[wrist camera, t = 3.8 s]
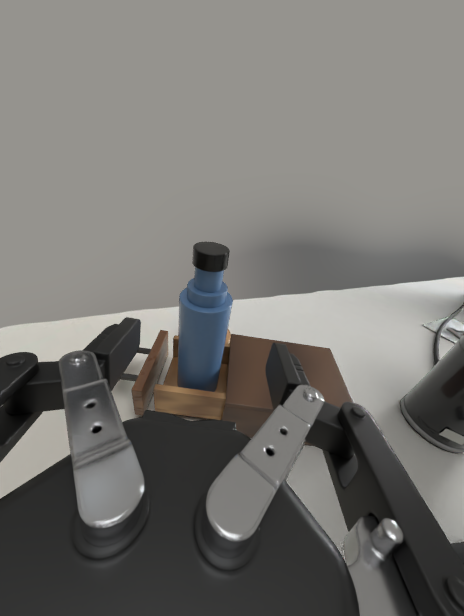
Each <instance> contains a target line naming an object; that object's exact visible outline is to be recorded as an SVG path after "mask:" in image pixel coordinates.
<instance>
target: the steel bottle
mask: <svg viewBox="0 0 464 616" xmlns="http://www.w3.org/2000/svg"><path fill="white" fill-rule="evenodd" d="M229 252H230V251H229V249H228V248H227V247H226V246H224V245H222V244H218V243H214V242H199V243H196V244H195V245H194V247H193V265H194V266H195V277H194V278H193V279H191V280H190V281H189V282H188V284H187V288H185V289H184V290H183V291H182V292H181V293H180V298H179V335H178V372H177V386H178V387H182V388H189V389H196V390H204V391H211V392H215V390H216V388H217V385H218V380H219V374H220V369H221V363H222V358H223V352H224V347H225V341H226V336H227V330H228V325H229V319H230V314H231V308H232V302H233V300H232V297H231V295H230V294H229V293H228V292H227V285H226V284H225V283H224V282H223V281H222V279H223V273H224V270H225V269H226V268H227V265H228V258H229Z"/></svg>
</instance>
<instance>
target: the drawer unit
mask: <svg viewBox="0 0 464 616" xmlns="http://www.w3.org/2000/svg"><path fill="white" fill-rule="evenodd" d="M273 343H280V344H286V346H287V348H288V351H289V353H292V354H294V355H295V356H296V357H297V358H298V359H299V361H300V363H301V366H302V368H303V370H304V372H305V375H306V377H307V379H308V381H309V383H310V386H311V387H313V388H315V389H317V390H318V391H319V392H320V393H321V394H322V395H323V397H324V401H325V402H327V403H330V404H332V405H335V406H337V407H340V408H341V406H342V404H343V403H344V402H353V400H352V398H351V396H350V393H349V391H348V389H347V387H346V384H345V382H344V380H343V377H342V375H341V373H340V371H339V368H338V366H337V364H336V361H335V359H334V357H333V355H332V352H331V350H330V349H329V348H323V347H316V346H309V345H302V344H296V343H289V342H282V341H275V340H269V339H262V338H255V337H248V336H242V335H235V334H231V338H230V351H229V363H228V375H227V388H226V400H225V405H224V410H223V414H222V418H221V420H223V421H230V422H236V430H237V431H240V432H241V433H243V434H245V435H247V436H248V437H250V438H253V436H254V435H255V434H256V433H257V431H258V430H259V429H260V428H261V426H262V425H263V424H264V423H265V421H266V420H267V419H268V418H269V416H270V415H271V414H272V413H273V407H272V402H271V397H270V392H269V387H268V383H267V378H266V373H265V368H266V363H267V359H268V356H269V353H270V350H271V346H272V344H273ZM304 445H312V444H310V443H307V442H305V444H304ZM312 446H314V445H312Z"/></svg>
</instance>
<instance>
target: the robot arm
mask: <svg viewBox="0 0 464 616" xmlns="http://www.w3.org/2000/svg"><path fill="white" fill-rule="evenodd" d="M463 308H464V304H463V305H462V306H461V307H460V308H459V309H458V310H457V311H455V312H454V313H453V314H451V315H450V316H449V317H448V318H447V319H446V320H445V321H444V322H443V323H442V324H441V326H440V327H439V329H438V331H437V334H436V337H435V342H434V362H435V366H434V367H433V368H432V369H431V370H430V371H429V372H428V373H427V374H426V376H425V377H424V378H423V379H422V380H421V381H420V382H419V383H418V384H417V385H416V386H415V387H414V388H413V389H412V390H411V391H410V392H409V393H408V394H407V395H405V397H404V398H403V399H402V400H401V410H402V412H403V414H404V416H405V418H406V419H407V421H408V422H409V423H410V425H411V426H412V427H413V428H414V429H415V430H416V431H417V432H418V433H419V434H420V435H421V436H423V437H424V438H425V439H427V440H428V441H429V442H431V443H433V444H434V445H436V446H438V447H440V448H442V449H444V450H447V451H450V452H455V453H462V452H464V335H463V336H462V337H461V338H460V339H459V341H458V342H457V343H456V344H455V345H454V346H453V347H452V348H451V349H450V350H449V351H448V352H447V353H446V354H445V355H444V356H443V357H442V359H441V360H440V361H439V340H440V335H441V333H442V330H443V328H444V327H445V325H446V324H447V323H448V322H449V321H450V320H451V319H452V318H453V317H454V316H455V315H457V314H458V313H459V312H460V311H461V310H462V309H463ZM140 325H141V322H140V320H139V319H134V318H128V317H126V318H125V319H124V320H123V321H122V322H121V323H120V324H114V325H111V326H109V327H107V328H106V329H105V330H104V331H103V332H101V334H99V335H98V336H97V338H95V339H94V340H93V341H92V342H91V343H90V344H89V345H88V346H87V347H86V348H85V349H84V350H83V351H74V352H71V353H68V354H66V355H64V356H63V357H62V358H61V359H60V360H59V361H55V362H38V358H37V356H36V355H35V354H33V353H29V352H19V353H13V354H9V355H6V356H4V357H2V358H0V462H1V461H2V460H3V459H4V457H5V456H6V455H7V454H8V453H9V452H10V450H11V449H12V448H13V447H14V446H15V444H16V443H17V442H18V441H19V440H20V438H21V437H22V436H23V435H24V434H25V433H26V431H27V430H28V429H29V428H30V427H31V425H32V424H33V423H34V422H35V421H36V419H37V418H38V417H39V416H40V415H41V414H42V412H43V411H50V410H59V409H65V416H66V423H67V431H68V438H69V446H70V455H68V456H67V457H65V458H63V459H62V460H60V461H59V462H57V463H56V464H54V465H53V466H51V467H49V468H48V469H46V470H45V471H43V472H42V473H40V474H38V475H37V476H35V477H34V478H32V479H31V480H29V481H28V482H26V483H24V484H23V485H21V486H20V487H18V488H17V489H15V490H13V491H12V492H10V493H9V494H7V495H6V496H4V497H2V498H1V499H0V616H464V565H463V563H462V562H461V560H460V558H459V557H458V555H457V553H456V552H455V550H454V549H453V547H452V545H451V544H450V542H449V541H448V539H447V537H446V536H445V534H444V532H443V531H442V529H441V528H440V526H439V524H438V523H437V521H436V519H435V518H434V516H433V515H432V513H431V511H430V510H429V508H428V506H427V505H426V503H425V502H424V500H423V498H422V497H421V495H420V493H419V492H418V490H417V489H416V487H415V485H414V484H413V482H412V480H411V479H410V477H409V476H408V474H407V472H406V471H405V469H404V467H403V466H402V464H401V463H400V461H399V459H398V458H397V456H396V454H395V453H394V451H393V450H392V448H391V446H390V445H389V443H388V441H387V440H386V438H385V437H384V435H383V433H382V432H381V430H380V428H379V427H378V425H377V424H376V422H375V420H374V419H373V417H372V416H371V414H370V413H369V412H368V411H367V410H366V409H365V408H363V407H362V406H360V405H358V404H356V403H353V402H344V403H343V404H342V406H341V408H340V407H337V406H335V405H332V404H330V403H327V402H325V401H324V397H323V395H322V394H321V393H320V392H319V391H318V390H317V389H315V388H313V387H311V386H310V383H309V381H308V379H307V377H306V375H305V372H304V370H303V368H302V366H301V363H300V361H299V359H298V358H297V357H296V356H295V355H294V354H292V353H289V351H288V348H287V346H286V344H280V343H273V344H272V346H271V350H270V353H269V356H268V359H267V363H266V368H265V373H266V378H267V383H268V387H269V392H270V397H271V402H272V407H273V413H272V414H271V415H270V416H269V418H268V419H267V420H266V421H265V423H264V424H263V425H262V426H261V428H260V429H259V430H258V431H257V433H256V434H255V435H254V436H253V438H252V439H251V438H249V437H248V436H247V435H245V434H243V433H241V432H240V431H237V430H236V422H230V421H223V420H215V419H212V420H201V421H188V420H185V419H183V418H180V417H177V416H175V415H172V414H170V413H165V412H158V411H151V410H145V412H144V414H143V416H142V417H140V418H134V419H130V420H127V421H124V422H122V421H121V418H120V415H119V412H118V410H117V407H116V404H115V401H114V398H113V395H112V392H111V391H112V389H113V388H114V386H115V385H116V383H117V382H118V380H119V379H120V377H121V376H122V374H123V373H124V371H125V370H126V368H127V367H128V365H129V364H130V362H131V361H132V359H133V358H134V356H135V355H136V353H137V351H138V348H139V344H140ZM2 405H3V406H2ZM1 406H2V407H1ZM305 442H307V443H310V444H312V445H314V446H316V447H319V448H321V449H322V450H323V453H324V457H325V460H326V463H327V466H328V469H329V472H330V475H331V478H332V482H333V485H334V488H335V491H336V494H337V497H338V500H339V503H340V507H341V510H342V513H343V516H344V519H345V522H346V525H347V528H348V532H349V533H348V534H347V535H346V537H345V539H344V554H345V559H346V563H345V561H344V559H343V557H342V555H341V554H340V552H339V550H338V549H337V547H336V546H335V544H334V543H333V542H332V540H331V539H330V538H329V536H328V535H327V534H326V533H325V531H324V530H323V529H322V527H321V526H320V525H319V524H318V522H317V521H316V520H315V518H314V517H313V516H312V515H311V513H310V512H309V511H308V509H307V508H306V507H305V506H304V504H303V503H302V502H301V500H300V499H299V498H298V497H297V495H296V494H295V493H294V491H293V490H292V489H291V487H290V486H289V485H288V484H287V482H286V480H287V478H288V476H289V474H290V471H291V469H292V468H293V466H294V464H295V462H296V460H297V458H298V456H299V454H300V452H301V450H302V448H303V446H304V444H305Z"/></svg>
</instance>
